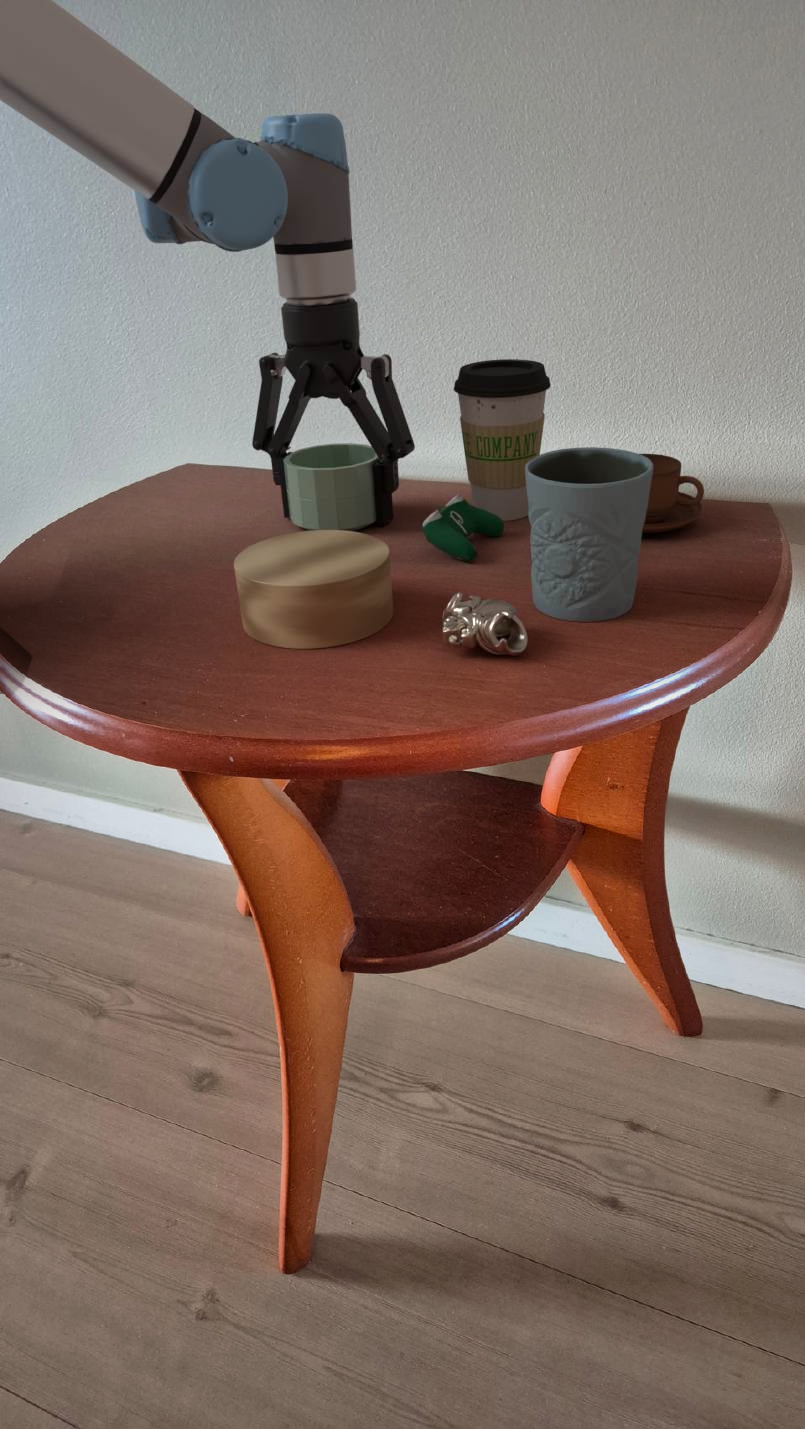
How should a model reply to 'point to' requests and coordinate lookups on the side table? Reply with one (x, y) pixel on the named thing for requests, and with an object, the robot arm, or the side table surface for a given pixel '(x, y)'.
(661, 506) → the cup and saucer
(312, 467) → the bowl
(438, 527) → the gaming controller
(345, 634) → the stand
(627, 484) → the blue-grey embossed tumbler
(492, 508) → the coffee cup
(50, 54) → the robot arm
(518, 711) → the side table surface
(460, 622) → the ornament
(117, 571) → the side table surface
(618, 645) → the side table surface
